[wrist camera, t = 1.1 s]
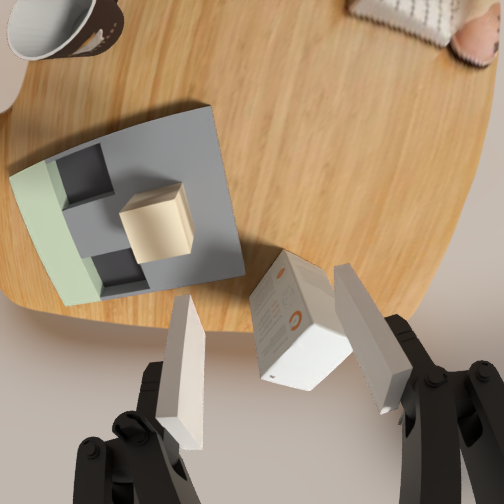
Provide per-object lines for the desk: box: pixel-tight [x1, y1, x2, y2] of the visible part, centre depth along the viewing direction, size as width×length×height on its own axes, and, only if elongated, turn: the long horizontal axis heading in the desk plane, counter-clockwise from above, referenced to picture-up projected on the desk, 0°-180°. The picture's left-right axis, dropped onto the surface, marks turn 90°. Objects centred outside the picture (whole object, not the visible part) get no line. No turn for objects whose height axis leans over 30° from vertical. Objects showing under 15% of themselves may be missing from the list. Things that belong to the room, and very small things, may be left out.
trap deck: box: [9, 106, 246, 306], centre depth 30 cm, size 24×18×2 cm
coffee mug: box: [7, 0, 124, 60], centre depth 17 cm, size 12×9×10 cm
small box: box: [249, 249, 353, 391], centre depth 32 cm, size 8×6×13 cm
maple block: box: [119, 182, 195, 264], centre depth 27 cm, size 5×5×5 cm
